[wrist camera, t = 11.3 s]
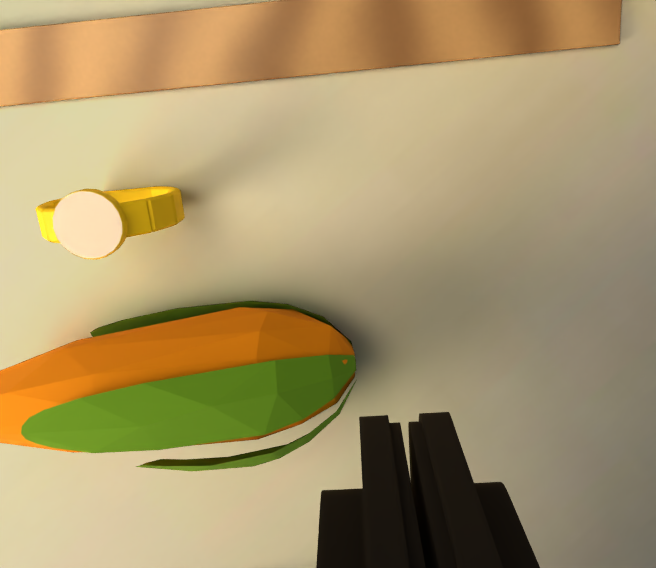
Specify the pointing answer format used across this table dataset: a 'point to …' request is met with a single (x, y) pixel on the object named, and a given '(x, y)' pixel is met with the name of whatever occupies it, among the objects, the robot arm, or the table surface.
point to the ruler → (284, 42)
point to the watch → (108, 218)
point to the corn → (181, 384)
